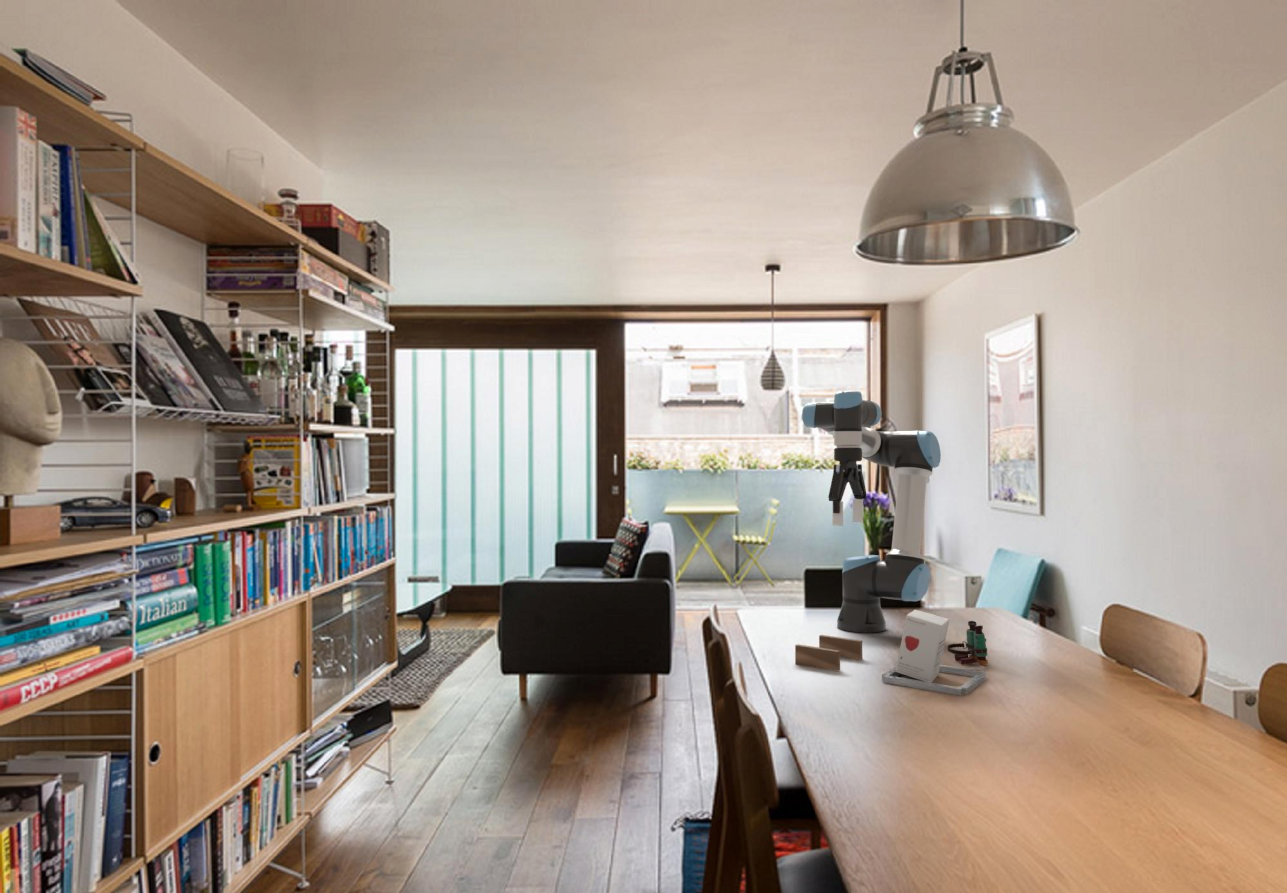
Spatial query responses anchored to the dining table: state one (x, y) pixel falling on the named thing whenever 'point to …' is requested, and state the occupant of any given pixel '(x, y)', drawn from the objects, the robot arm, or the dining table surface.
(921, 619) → the supplement box
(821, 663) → the wooden blocks
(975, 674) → the gray rectangular frame
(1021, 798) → the dining table surface
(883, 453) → the robot arm
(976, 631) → the binoculars
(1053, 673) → the dining table surface
